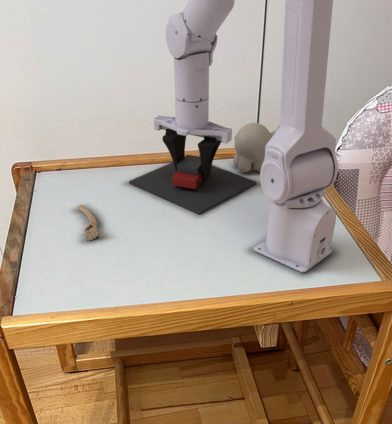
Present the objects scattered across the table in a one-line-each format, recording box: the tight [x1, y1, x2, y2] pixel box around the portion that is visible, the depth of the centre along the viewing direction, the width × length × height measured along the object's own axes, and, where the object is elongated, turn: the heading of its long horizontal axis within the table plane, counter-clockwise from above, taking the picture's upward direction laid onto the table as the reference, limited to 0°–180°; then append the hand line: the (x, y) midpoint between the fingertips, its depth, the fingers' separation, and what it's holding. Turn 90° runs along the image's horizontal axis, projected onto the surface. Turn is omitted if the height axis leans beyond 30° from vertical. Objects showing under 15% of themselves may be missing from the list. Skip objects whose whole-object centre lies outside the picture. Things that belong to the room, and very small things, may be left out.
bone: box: [77, 204, 99, 242], centre depth 87 cm, size 3×11×2 cm, turn 16°
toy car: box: [172, 154, 213, 190], centre depth 97 cm, size 9×4×4 cm
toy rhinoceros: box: [232, 122, 280, 173], centre depth 101 cm, size 7×12×8 cm, turn 99°
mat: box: [128, 161, 257, 215], centre depth 98 cm, size 18×16×1 cm
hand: (192, 174), depth 97 cm, fingers closed on toy car, 5 cm apart
